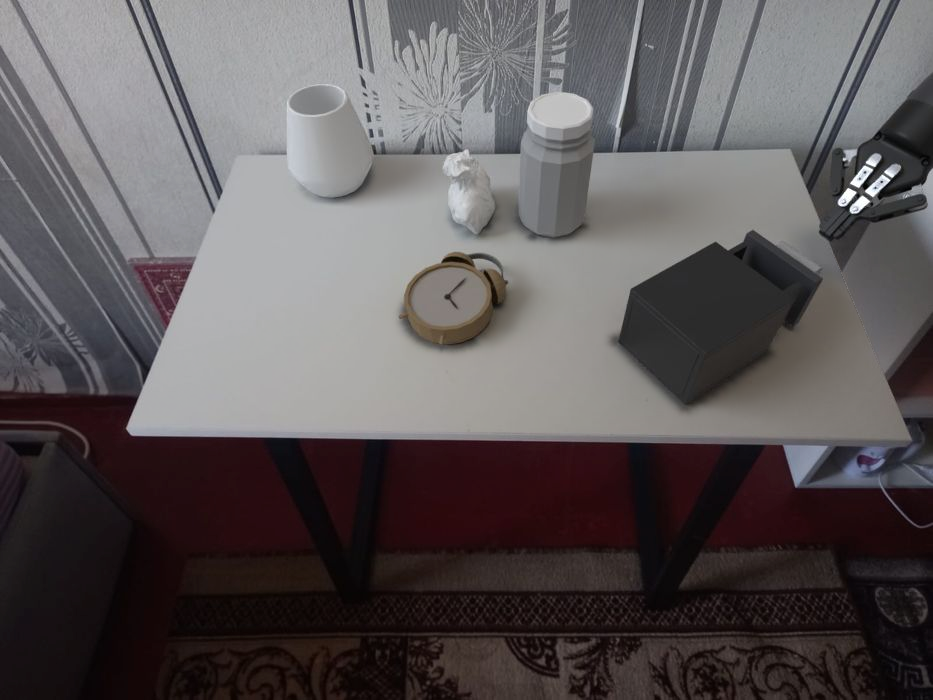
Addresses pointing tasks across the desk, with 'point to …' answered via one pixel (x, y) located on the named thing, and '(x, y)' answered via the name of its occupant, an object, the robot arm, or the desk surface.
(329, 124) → the white vase
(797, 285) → the drawer
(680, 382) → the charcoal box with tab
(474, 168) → the white tied bag
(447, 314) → the alarm clock
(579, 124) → the jar
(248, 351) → the desk surface
